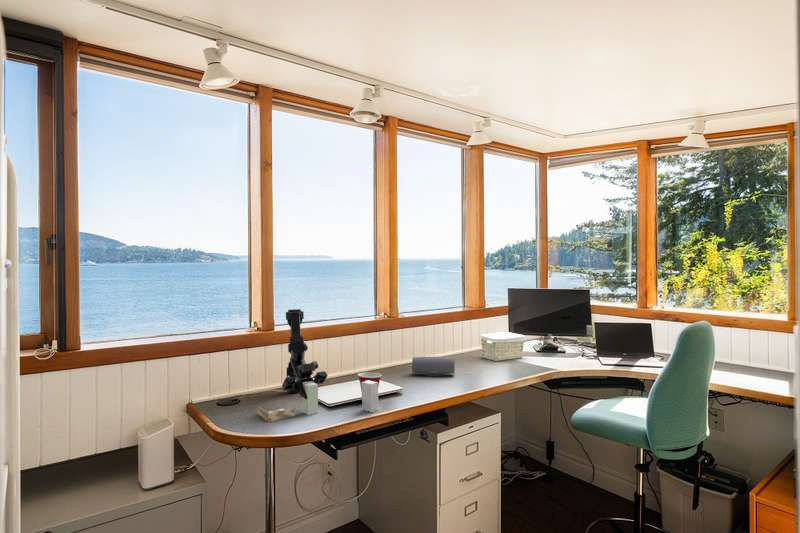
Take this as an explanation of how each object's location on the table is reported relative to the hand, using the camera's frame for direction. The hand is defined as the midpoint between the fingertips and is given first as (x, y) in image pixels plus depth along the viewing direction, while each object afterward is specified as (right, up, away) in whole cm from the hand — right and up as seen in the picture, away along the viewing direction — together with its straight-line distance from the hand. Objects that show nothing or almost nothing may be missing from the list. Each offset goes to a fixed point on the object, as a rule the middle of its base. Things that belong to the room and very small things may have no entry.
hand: (311, 397), depth 200 cm
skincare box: (+24, -7, +4) cm, 25 cm away
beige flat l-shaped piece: (-14, -7, -1) cm, 16 cm away
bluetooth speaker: (+55, -5, +64) cm, 84 cm away
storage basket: (+101, -4, +106) cm, 147 cm away
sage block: (-1, -7, +1) cm, 7 cm away
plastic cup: (+23, -6, +18) cm, 30 cm away
